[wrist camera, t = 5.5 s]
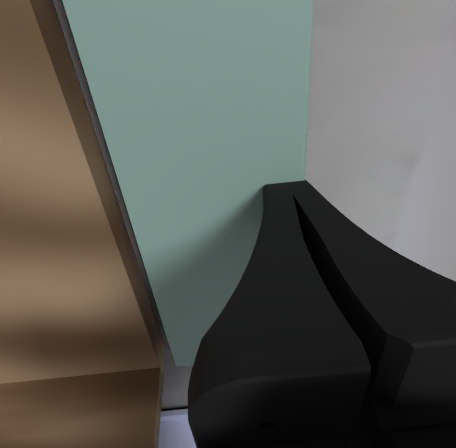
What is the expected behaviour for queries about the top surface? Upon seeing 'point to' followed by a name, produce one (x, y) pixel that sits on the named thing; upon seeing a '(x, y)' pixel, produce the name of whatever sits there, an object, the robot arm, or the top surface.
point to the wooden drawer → (65, 262)
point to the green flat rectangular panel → (197, 134)
